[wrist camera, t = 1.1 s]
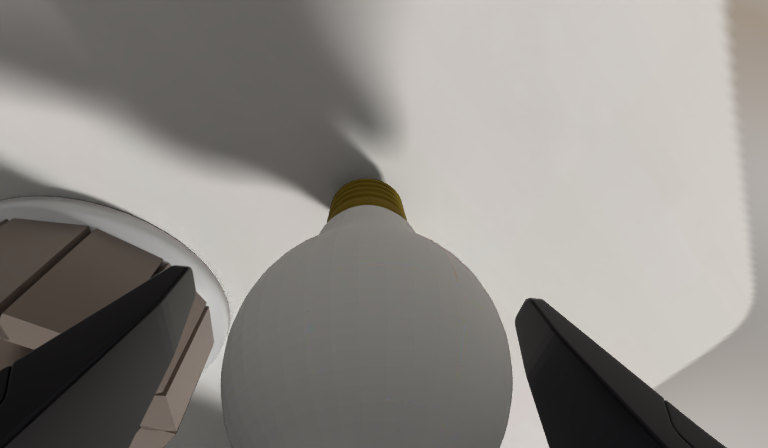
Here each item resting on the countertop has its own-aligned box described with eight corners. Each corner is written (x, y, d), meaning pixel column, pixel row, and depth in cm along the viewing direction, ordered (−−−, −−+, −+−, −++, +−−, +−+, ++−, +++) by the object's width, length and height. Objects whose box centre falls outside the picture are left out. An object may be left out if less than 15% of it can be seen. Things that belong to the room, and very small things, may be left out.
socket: (236, 379, 20) (204, 479, 16) (14, 367, 18) (-84, 475, 14) (220, 215, 14) (160, 310, 10) (-115, 177, 12) (-350, 270, 8)
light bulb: (263, 219, 14) (112, 570, 6) (337, 88, 11) (263, 380, 3) (387, 277, 16) (413, 597, 8) (475, 178, 13) (662, 499, 5)
